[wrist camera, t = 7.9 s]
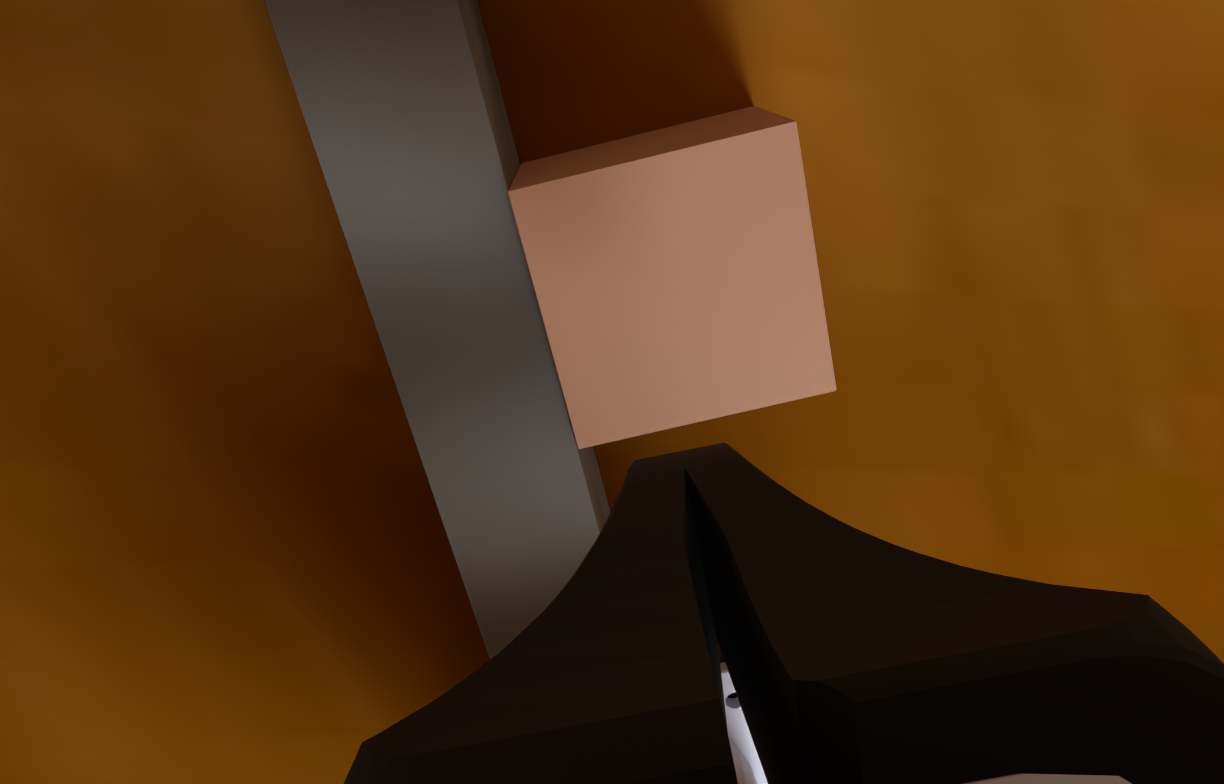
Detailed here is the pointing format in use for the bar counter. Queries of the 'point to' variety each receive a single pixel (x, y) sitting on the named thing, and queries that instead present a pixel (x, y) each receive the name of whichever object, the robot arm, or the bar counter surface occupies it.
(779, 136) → the block
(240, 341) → the bar counter surface
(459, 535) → the gray rectangular bar
